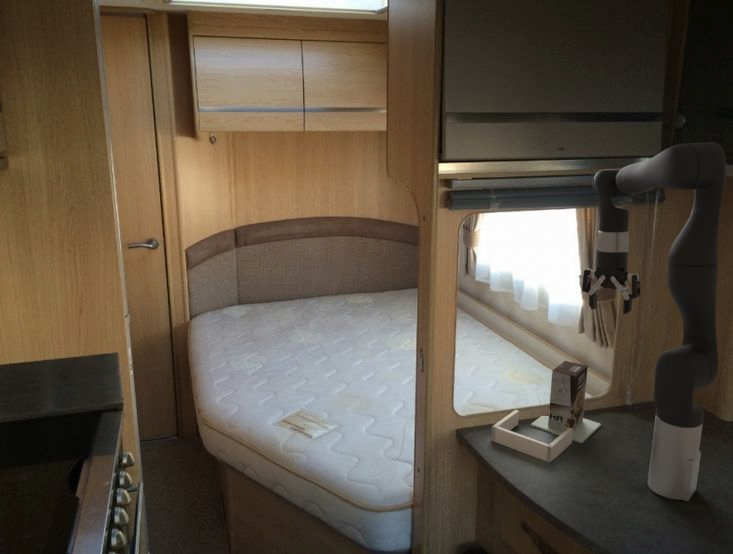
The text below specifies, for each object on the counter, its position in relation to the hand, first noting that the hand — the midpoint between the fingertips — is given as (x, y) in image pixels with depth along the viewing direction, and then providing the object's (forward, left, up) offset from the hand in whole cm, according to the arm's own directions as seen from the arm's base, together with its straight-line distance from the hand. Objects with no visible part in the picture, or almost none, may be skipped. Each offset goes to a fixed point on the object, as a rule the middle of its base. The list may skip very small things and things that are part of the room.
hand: (609, 311), depth 168 cm
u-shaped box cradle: (+8, +22, -31) cm, 39 cm away
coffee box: (+5, +9, -31) cm, 32 cm away
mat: (+5, +9, -31) cm, 33 cm away
